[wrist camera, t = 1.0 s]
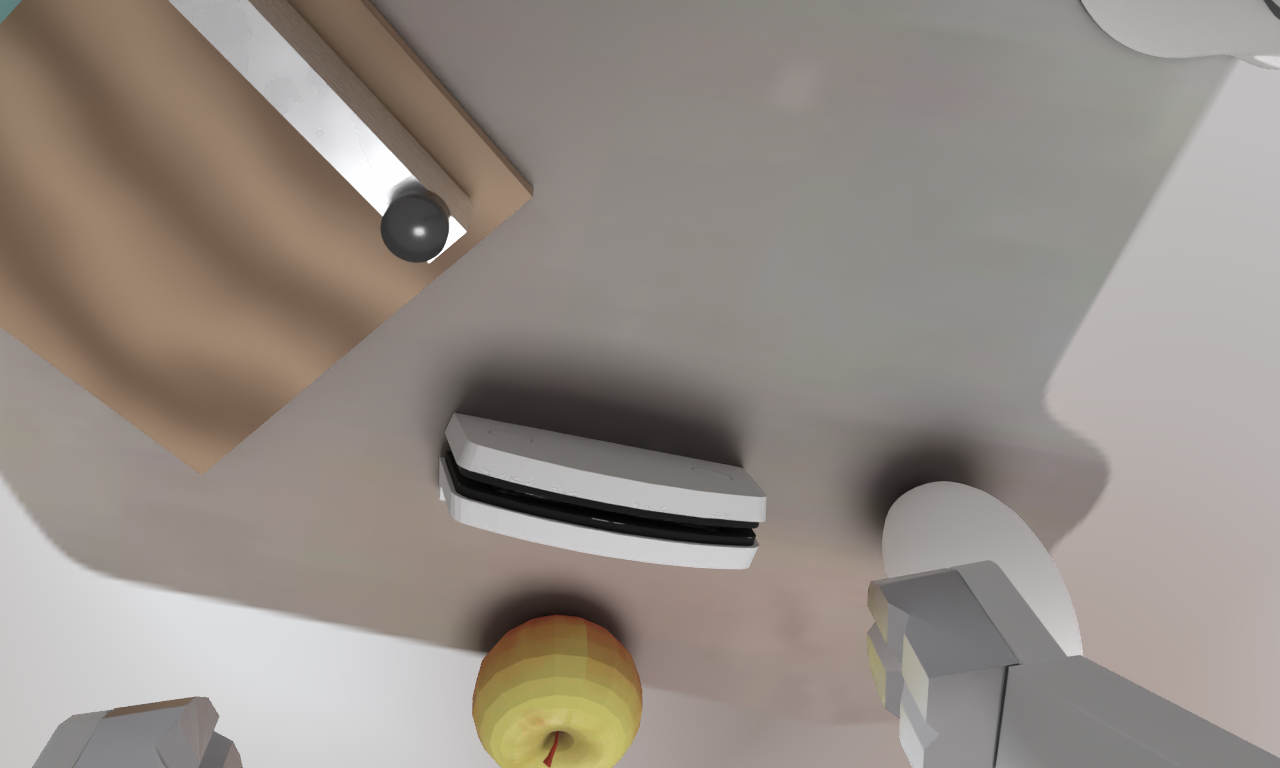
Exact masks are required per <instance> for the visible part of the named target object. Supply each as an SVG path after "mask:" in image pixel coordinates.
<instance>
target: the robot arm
mask: <svg viewBox="0 0 1280 768" xmlns="http://www.w3.org/2000/svg"><path fill="white" fill-rule="evenodd" d="M1081 1H1082V3H1083V5H1084V6H1085V8H1086V9H1087V11H1088V13H1089V14H1090V15H1091V16H1092V18H1093V19H1094V20H1095V22H1096V23H1097V24H1098V25H1099V26H1100V27H1101V28H1102V29H1103V30H1104V31H1105V32H1106V33H1108V34H1109V35H1110V36H1111V37H1113V38H1114V39H1115V40H1117V41H1118V42H1120V43H1122V44H1123V45H1125V46H1127V47H1129V48H1131V49H1133V50H1136V51H1139V52H1141V53H1144V54H1148V55H1152V56H1157V57H1165V58H1191V57H1200V56H1215V55H1232V56H1234V57H1236V58H1238V59H1240V60H1243V61H1245V62H1248V63H1250V64H1252V65H1255V66H1258V67H1261V68H1265V69H1278V70H1279V69H1280V0H1081ZM868 607H869V609H870V611H871V613H872V616H873V618H874V620H875V623H874V624H873V626H872V627H871V628H870V629H869V631H868V632H867V642H868V656H869V662H870V667H871V673H872V676H873V679H874V682H875V685H876V688H877V691H878V694H879V696H880V698H881V700H882V703H883V705H884V707H885V709H886V710H888V711H889V712H891V713H892V714H894V715H895V716H897V717H898V718H900V732H899V740H900V743H901V744H902V747H903V749H904V751H905V753H906V755H907V757H908V760H909V762H910V764H911V766H912V768H1280V758H1278V757H1276V756H1274V755H1272V754H1270V753H1269V752H1267V751H1265V750H1263V749H1261V748H1259V747H1257V746H1255V745H1253V744H1251V743H1249V742H1247V741H1246V740H1244V739H1242V738H1240V737H1238V736H1236V735H1234V734H1232V733H1230V732H1228V731H1226V730H1224V729H1222V728H1220V727H1218V726H1217V725H1214V724H1213V723H1211V722H1209V721H1207V720H1205V719H1203V718H1201V717H1199V716H1197V715H1195V714H1193V713H1191V712H1189V711H1188V710H1185V709H1184V708H1182V707H1180V706H1178V705H1176V704H1174V703H1172V702H1170V701H1168V700H1166V699H1164V698H1162V697H1161V696H1159V695H1157V694H1155V693H1153V692H1151V691H1149V690H1147V689H1145V688H1143V687H1141V686H1139V685H1137V684H1135V683H1134V682H1132V681H1130V680H1128V679H1126V678H1124V677H1122V676H1120V675H1118V674H1116V673H1114V672H1112V671H1110V670H1108V669H1107V668H1105V667H1103V666H1101V665H1099V664H1097V663H1095V662H1093V661H1091V660H1089V659H1087V658H1085V657H1083V656H1081V655H1076V656H1069V657H1068V656H1067V655H1066V654H1065V652H1064V651H1063V650H1062V648H1061V647H1060V646H1059V645H1058V643H1057V642H1056V641H1055V639H1054V638H1053V637H1052V635H1051V634H1050V633H1049V631H1048V630H1047V629H1046V627H1045V626H1044V625H1043V623H1042V622H1041V621H1040V619H1039V618H1038V617H1037V616H1036V614H1035V613H1034V612H1033V610H1032V609H1031V608H1030V606H1029V605H1028V604H1027V602H1026V601H1025V600H1024V598H1023V597H1022V596H1021V594H1020V593H1019V592H1018V591H1017V589H1016V588H1015V587H1014V585H1013V584H1012V583H1011V581H1010V580H1009V579H1008V577H1007V576H1006V575H1005V573H1004V572H1003V571H1002V569H1001V568H1000V567H999V565H998V564H996V563H994V562H993V561H991V560H986V561H981V562H975V563H970V564H964V565H959V566H953V567H950V568H949V569H948V568H943V569H938V570H932V571H927V572H921V573H915V574H910V575H904V576H899V577H893V578H888V579H882V580H876V581H871V583H870V586H869V589H868ZM218 718H219V715H218V713H217V712H216V710H215V708H214V707H213V705H212V703H211V702H210V700H209V698H206V697H191V698H184V699H176V700H169V701H162V702H156V703H149V704H142V705H135V706H128V707H121V708H115V709H114V710H107V711H99V712H92V713H85V714H78V715H72V716H71V717H70V718H68V719H67V720H65V721H64V722H63V723H61V724H60V725H59V726H58V727H57V729H56V730H55V732H54V734H53V735H52V737H51V738H50V740H49V741H48V743H47V745H46V746H45V748H44V749H43V751H42V753H41V754H40V756H39V758H38V759H37V761H36V762H35V764H34V765H33V767H32V768H243V767H242V763H241V758H240V754H239V752H238V751H237V749H236V747H235V745H234V743H233V741H231V740H229V739H227V738H226V737H224V736H222V735H220V734H218V733H216V732H214V728H215V726H216V723H217V721H218Z"/></svg>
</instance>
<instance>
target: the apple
mask: <svg viewBox="0 0 1280 768" xmlns="http://www.w3.org/2000/svg"><path fill="white" fill-rule="evenodd" d="M472 707H473V708H472V709H473V710H472V715H473V718H474V722H475V726H476V729H477V733H478V737H479V739H480V741H481V743H482V745H483V747H484V749H485V750H486V751H487V753H488V754H489V755H490V756H491V757H492V758H493V759H494V760H495V761H496V763H497V764H498V765H499V766H500V767H501V768H612V767H613V766H614V765H615V764H616V763H617V762H618V761H619V760H620V759H621V758H622V756H623V755H624V753H625V752H626V750H627V749H628V748H629V746H630V745H631V743H632V742H633V740H634V738H635V736H636V734H637V731H638V729H639V726H640V719H641V712H642V688H641V683H640V678H639V674H638V672H637V669H636V666H635V664H634V661H633V659H632V656H631V654H630V653H629V652H628V651H627V649H626V648H625V647H624V646H623V645H622V643H621V642H620V641H618V640H617V639H616V638H615V637H614V636H613V635H612V634H611V633H610V632H609V631H608V630H607V629H606V628H604V627H602V626H600V625H597V624H595V623H593V622H590V621H588V620H585V619H583V618H581V617H576V616H567V615H557V614H556V615H550V616H544V617H539V618H533V619H531V620H529V621H527V622H525V623H523V624H521V625H519V626H517V627H516V628H514V629H512V630H510V631H508V632H507V633H506V634H505V635H504V636H503V637H502V638H501V639H500V640H499V642H498V643H497V644H496V645H495V646H494V647H493V648H492V649H491V651H490V652H489V653H488V654H487V655H486V657H485V658H484V659H483V660H482V663H481V667H480V670H479V674H478V677H477V681H476V685H475V690H474V694H473V706H472Z"/></svg>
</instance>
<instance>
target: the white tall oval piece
mask: <svg viewBox="0 0 1280 768" xmlns="http://www.w3.org/2000/svg"><path fill="white" fill-rule="evenodd" d="M882 551H883V563H884V568H885V572H886V576H887V579H888V578H893V577H899V576H904V575H910V574H915V573H921V572H927V571H932V570H938V569H943V568H948V569H949V568H950V567H953V566H959V565H964V564H970V563H975V562H981V561H986V560H991V561H993V562H994V563H996V564H998V565H999V567H1000V568H1001V569H1002V571H1003V572H1004V573H1005V575H1006V576H1007V577H1008V579H1009V580H1010V581H1011V583H1012V584H1013V585H1014V587H1015V588H1016V589H1017V591H1018V592H1019V593H1020V594H1021V596H1022V597H1023V598H1024V600H1025V601H1026V602H1027V604H1028V605H1029V606H1030V608H1031V609H1032V610H1033V612H1034V613H1035V614H1036V616H1037V617H1038V618H1039V619H1040V621H1041V622H1042V623H1043V625H1044V626H1045V627H1046V629H1047V630H1048V631H1049V633H1050V634H1051V635H1052V637H1053V638H1054V639H1055V641H1056V642H1057V643H1058V645H1059V646H1060V647H1061V648H1062V650H1063V651H1064V652H1065V654H1066V655H1067V656H1068V657H1069V656H1076V655H1081V656H1083V651H1082V642H1081V636H1080V631H1079V626H1078V622H1077V618H1076V614H1075V611H1074V608H1073V605H1072V602H1071V600H1070V597H1069V594H1068V592H1067V589H1066V587H1065V584H1064V582H1063V580H1062V577H1061V575H1060V573H1059V571H1058V569H1057V567H1056V565H1055V564H1054V562H1053V560H1052V558H1051V556H1050V555H1049V553H1048V552H1047V550H1046V549H1045V547H1044V546H1043V545H1042V543H1041V542H1040V540H1039V539H1038V538H1037V537H1036V535H1035V534H1034V533H1033V532H1032V530H1031V529H1030V528H1029V527H1028V525H1027V524H1026V523H1025V522H1024V521H1023V520H1022V519H1021V518H1020V517H1019V516H1018V515H1017V514H1016V513H1015V512H1014V511H1013V510H1011V509H1010V508H1009V507H1008V506H1006V505H1005V504H1003V503H1002V502H1000V501H999V500H998V499H996V498H995V497H993V496H991V495H990V494H988V493H986V492H984V491H982V490H979V489H977V488H974V487H971V486H968V485H965V484H961V483H956V482H947V481H940V482H932V483H927V484H924V485H921V486H918V487H915V488H913V489H911V490H909V491H908V492H906V493H905V494H903V495H902V496H900V497H899V498H898V499H897V500H896V501H895V502H894V503H893V505H892V506H891V508H890V510H889V512H888V514H887V517H886V520H885V525H884V530H883V537H882Z"/></svg>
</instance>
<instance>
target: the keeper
mask: <svg viewBox="0 0 1280 768" xmlns="http://www.w3.org/2000/svg"><path fill="white" fill-rule="evenodd" d="M21 1H22V0H0V24H1V23H2V22H3V20H4V19H5V18H6V17H7V16H8V15H9V14H10V13H11V12H12V11H13V9H14V8H15V7H16V6H17V5H18V4H19V3H20V2H21Z"/></svg>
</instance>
